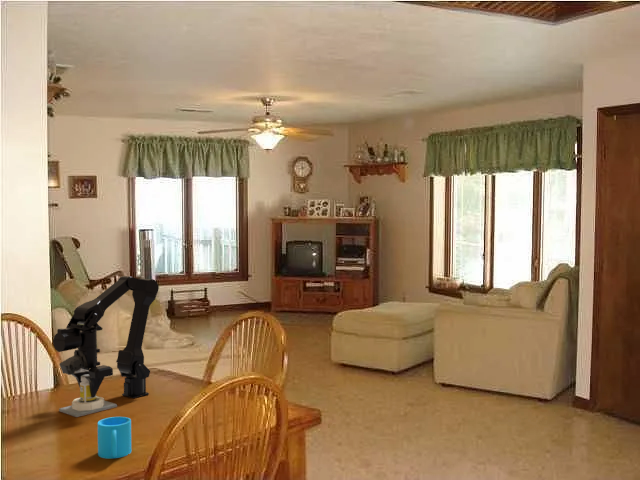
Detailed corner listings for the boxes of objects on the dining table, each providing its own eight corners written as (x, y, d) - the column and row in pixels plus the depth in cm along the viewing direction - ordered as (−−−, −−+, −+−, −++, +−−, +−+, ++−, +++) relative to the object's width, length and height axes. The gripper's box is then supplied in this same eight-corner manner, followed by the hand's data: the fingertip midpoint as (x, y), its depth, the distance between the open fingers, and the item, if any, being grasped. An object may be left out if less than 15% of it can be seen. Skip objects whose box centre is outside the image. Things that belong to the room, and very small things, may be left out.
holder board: (98, 401, 222) (98, 392, 222) (117, 406, 216) (116, 397, 216) (59, 411, 212) (58, 402, 212) (76, 417, 205) (76, 407, 205)
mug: (98, 449, 177) (98, 418, 177) (131, 446, 180) (130, 415, 179) (96, 465, 166) (95, 432, 166) (131, 462, 168) (130, 429, 168)
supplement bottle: (98, 400, 216) (98, 374, 216) (92, 404, 211) (91, 377, 211) (84, 400, 216) (83, 373, 216) (77, 404, 212) (76, 377, 211)
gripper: (47, 346, 213) (48, 396, 213) (80, 354, 201) (81, 406, 202) (79, 341, 221) (80, 389, 222) (113, 348, 210) (114, 398, 210)
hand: (88, 395), depth 214 cm, fingers closed on supplement bottle, 5 cm apart
